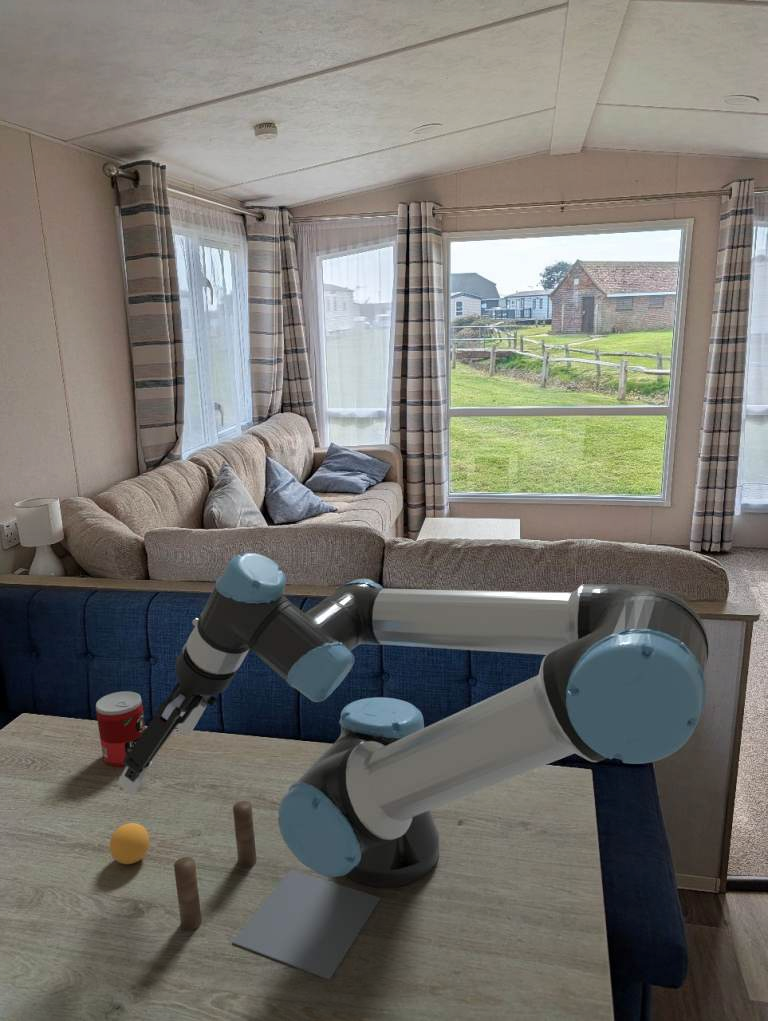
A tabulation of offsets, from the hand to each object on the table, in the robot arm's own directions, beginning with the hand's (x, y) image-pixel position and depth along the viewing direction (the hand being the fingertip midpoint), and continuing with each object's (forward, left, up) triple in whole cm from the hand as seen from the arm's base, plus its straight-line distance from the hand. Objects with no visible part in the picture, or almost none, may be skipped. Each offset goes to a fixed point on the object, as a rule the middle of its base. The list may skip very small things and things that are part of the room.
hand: (155, 757), depth 107 cm
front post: (-11, +9, -16) cm, 22 cm away
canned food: (+26, -19, -17) cm, 36 cm away
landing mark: (-25, +2, -16) cm, 30 cm away
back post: (-11, -4, -16) cm, 20 cm away
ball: (+5, +2, -14) cm, 15 cm away
